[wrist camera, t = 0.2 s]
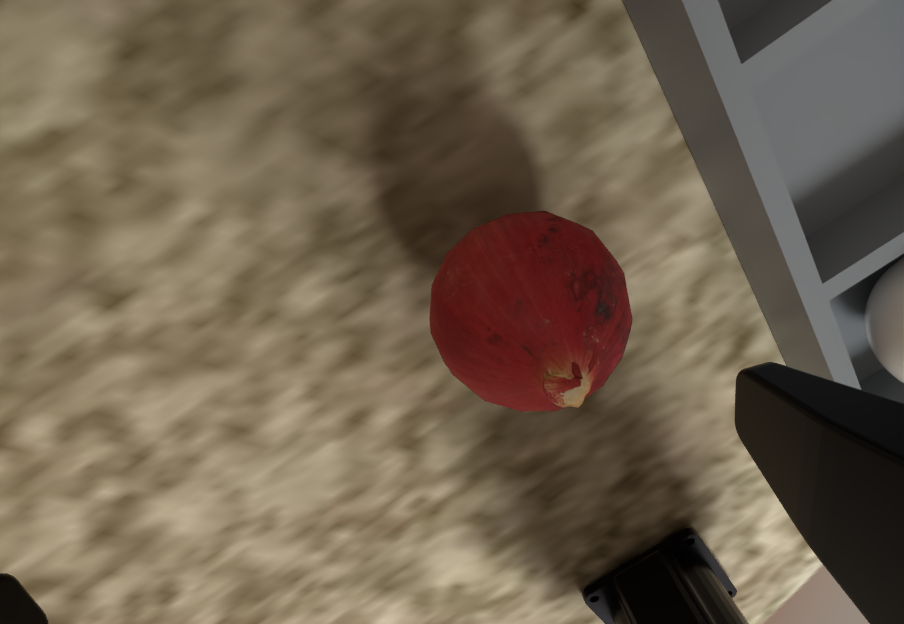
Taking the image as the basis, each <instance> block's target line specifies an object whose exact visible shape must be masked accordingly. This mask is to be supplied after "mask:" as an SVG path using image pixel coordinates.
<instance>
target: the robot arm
mask: <svg viewBox="0 0 904 624" xmlns="http://www.w3.org/2000/svg"><path fill="white" fill-rule="evenodd" d="M735 426H736V430H737V433H738V435H739V437H740V439H741V441H742V443H743V444H744V446H745V447H746V449H747V451H748V452H749V454H750V455H751V457H752V458H753V460H754V462H755V463H756V465H757V466H758V468H759V469H760V471H761V473H762V474H763V476H764V477H765V479H766V480H767V482H768V484H769V485H770V487H771V488H772V490H773V491H774V493H775V495H776V496H777V498H778V499H779V501H780V502H781V504H782V506H783V507H784V509H785V510H786V512H787V513H788V515H789V517H790V518H791V520H792V521H793V523H794V524H795V526H796V528H797V529H798V530H799V532H800V533H801V535H802V536H803V538H804V539H805V541H806V542H807V544H808V545H809V546H810V548H811V549H812V550H813V552H814V553H815V554H816V556H817V557H818V558H819V560H820V561H821V562H822V564H823V565H824V566H825V567H826V569H827V570H828V571H829V572H830V574H831V575H832V576H833V577H834V579H835V580H836V581H837V583H838V584H839V585H840V586H841V588H842V589H843V590H844V591H845V593H846V594H847V595H848V596H849V598H850V599H851V600H852V601H853V603H854V604H855V605H856V607H857V608H858V609H859V611H860V612H861V613H862V614H863V616H864V617H865V618H866V619H867V620H868V622H869V623H870V624H904V403H901V402H898V401H895V400H892V399H888V398H885V397H882V396H879V395H876V394H873V393H869V392H866V391H863V390H860V389H857V388H854V387H850V386H847V385H844V384H841V383H838V382H835V381H831V380H828V379H825V378H822V377H819V376H816V375H812V374H809V373H806V372H803V371H800V370H797V369H794V368H790V367H787V366H784V365H781V364H778V363H774V362H768V363H763V364H759V365H756V366H752V367H748V368H745V369H743V370H741V371H740V372H739V373H738V375H737V378H736V394H735ZM736 593H737V590H736V588H735V587H734V585H733V584H732V583H731V581H730V580H729V578H728V577H727V575H726V574H725V573H724V571H723V570H722V568H721V567H720V565H719V564H718V563H717V561H716V560H715V558H714V557H713V555H712V554H711V553H710V551H709V550H708V548H707V547H706V546H705V544H704V543H703V541H702V540H701V538H700V537H699V536H698V534H697V533H696V531H695V530H694V529H692V528H687V529H684V530H682V531H680V532H679V533H677V534H675V535H674V536H672V537H670V538H669V539H667V540H665V541H664V542H662V543H660V544H659V545H657V546H655V547H654V548H652V549H650V550H649V551H647V552H645V553H644V554H642V555H640V556H639V557H637V558H635V559H634V560H632V561H630V562H629V563H627V564H625V565H624V566H622V567H620V568H619V569H617V570H615V571H614V572H612V573H610V574H609V575H607V576H605V577H604V578H602V579H600V580H599V581H597V582H595V583H594V584H592V585H590V586H589V587H587V588H586V589H585V590H584V591H583V592H582V596H583V598H584V601H585V603H586V604H587V606H588V607H589V608H590V609H591V610H592V611H593V612H594V613H595V614H596V615H597V616H598V617H599V618H600V619H601V620H602V621H603V622H604V623H605V624H749V623H748V622H747V620H746V619H745V617H744V616H743V614H742V613H741V611H740V610H739V608H738V607H737V605H736V604H735V602H734V601H733V599H732V598H733V597H734V596H735V595H736ZM0 624H48V620H47V617H46V615H45V613H44V612H43V610H42V609H41V608H40V607H39V605H38V604H37V603H36V602H35V601H34V599H33V598H32V597H31V596H30V595H29V593H28V592H27V591H26V590H25V588H24V587H23V586H22V585H21V584H20V582H19V581H18V580H17V579H16V578H15V577H14V576H11V575H9V574H7V573H6V574H2V573H1V574H0Z"/></svg>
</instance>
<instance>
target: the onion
mask: <svg viewBox="0 0 904 624" xmlns="http://www.w3.org/2000/svg"><path fill="white" fill-rule="evenodd" d="M631 325H632V315H631V309H630V304H629V299H628V293H627V288H626V282H625V276H624V272H623V271H622V269H621V267H620V266H619V264H618V263H617V261H616V260H615V258H614V257H613V256H612V255H611V253H610V252H609V251H608V249H607V248H606V247H605V246H604V244H603V243H602V242H601V241H600V239H599V238H598V237H597V236H596V234H595V233H594V232H593V231H592V230H590V229H588V228H586V227H584V226H582V225H579V224H577V223H574V222H572V221H569V220H567V219H564V218H562V217H559V216H557V215H554V214H552V213H549V212H546V211H536V212H525V213H514V214H506V215H504V216H501V217H499V218H497V219H494V220H492V221H490V222H488V223H485V224H483V225H481V226H478V227H476V228H474V229H472V230H471V231H470V232H469V233H468V234H467V235H466V236H465V237H464V238H463V239H462V240H461V241H460V242H459V243H458V244H456V245H455V246H454V247H453V248H452V249H451V250H450V251H449V252H448V253H447V254H446V256H445V258H444V261H443V263H442V265H441V267H440V269H439V271H438V273H437V275H436V277H435V280H434V282H433V284H432V289H431V304H430V329H431V335H432V337H433V339H434V341H435V343H436V345H437V348H438V350H439V352H440V354H441V356H442V358H443V361H444V363H445V364H446V366H447V367H448V368H449V370H450V371H451V373H452V374H453V375H454V376H455V377H456V378H458V379H459V380H460V381H461V382H462V383H464V384H465V385H466V386H467V387H468V388H470V389H471V390H472V391H473V392H475V393H476V394H477V395H478V396H480V397H481V398H482V399H483V400H485V401H488V402H491V403H494V404H498V405H501V406H504V407H508V408H511V409H515V410H518V411H557V410H559V409H562V408H565V407H568V406H572V407H577V408H579V406H580V405H581V404H582V403H583V401H584V399H585V398H587V397H588V396H589V395H591V394H592V393H593V392H595V391H596V390H598V389H599V388H600V387H602V386H603V385H604V383H605V382H606V380H607V379H608V377H609V376H610V374H611V373H612V371H613V370H614V369H615V367H616V366H617V365H618V363H619V362H620V360H621V359H622V357H623V354H624V351H625V347H626V344H627V340H628V337H629V334H630V330H631Z"/></svg>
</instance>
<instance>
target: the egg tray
mask: <svg viewBox="0 0 904 624" xmlns="http://www.w3.org/2000/svg"><path fill="white" fill-rule="evenodd" d="M623 2H624V4H625V7H626V9H627V11H628V13H629V16H630V18H631V20H632V22H633V24H634V27H635V29H636V31H637V33H638V36H639V38H640V40H641V42H642V44H643V47H644V49H645V51H646V53H647V56H648V58H649V60H650V62H651V65H652V67H653V69H654V71H655V73H656V76H657V78H658V80H659V82H660V85H661V87H662V89H663V91H664V93H665V96H666V98H667V100H668V102H669V105H670V107H671V109H672V111H673V113H674V116H675V118H676V120H677V122H678V125H679V127H680V129H681V131H682V134H683V136H684V138H685V140H686V142H687V145H688V147H689V149H690V151H691V154H692V156H693V158H694V160H695V162H696V165H697V167H698V169H699V171H700V174H701V176H702V178H703V180H704V182H705V185H706V187H707V189H708V191H709V194H710V196H711V198H712V200H713V202H714V205H715V207H716V209H717V211H718V214H719V216H720V218H721V220H722V223H723V225H724V227H725V229H726V231H727V234H728V236H729V238H730V240H731V243H732V245H733V247H734V249H735V251H736V254H737V256H738V258H739V260H740V263H741V265H742V267H743V269H744V271H745V274H746V276H747V278H748V280H749V283H750V285H751V287H752V289H753V292H754V294H755V296H756V298H757V300H758V303H759V305H760V307H761V309H762V312H763V314H764V316H765V318H766V320H767V323H768V325H769V327H770V329H771V332H772V334H773V336H774V338H775V340H776V343H777V345H778V347H779V349H780V352H781V354H782V356H783V358H784V361H785V363H786V365H787V367H790V368H794V369H797V370H800V371H803V372H806V373H809V374H812V375H816V376H819V377H822V378H825V379H828V380H831V381H835V382H838V383H841V384H844V385H847V386H850V387H854V388H857V389H860V390H863V391H866V392H869V393H873V394H876V395H879V396H882V397H885V398H888V399H892V400H895V401H898V402H901V403H904V383H902V382H901V381H899V380H898V379H897V378H895V377H894V376H893V375H892V374H891V373H889V372H888V371H887V370H886V369H885V368H884V367H883V366H882V365H881V363H880V362H879V361H878V359H877V358H876V356H875V355H874V353H873V352H872V349H871V347H870V345H869V342H868V340H867V336H866V332H865V325H864V316H865V308H866V303H867V300H868V298H869V295H870V293H871V291H872V289H873V287H874V285H875V284H876V282H877V281H878V280H879V278H880V277H881V276H882V275H883V274H884V273H885V272H886V271H887V270H888V269H889V268H890V267H891V266H892V265H893V264H895V263H896V262H897V261H899V260H900V259H902V258H903V257H904V0H623Z"/></svg>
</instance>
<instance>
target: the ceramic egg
mask: <svg viewBox="0 0 904 624" xmlns="http://www.w3.org/2000/svg"><path fill="white" fill-rule="evenodd" d="M864 325H865V332H866V336H867V340H868V342H869V345H870V347H871V349H872V352H873V353H874V355H875V356H876V358H877V359H878V361H879V362H880V363H881V365H882V366H883V367H884V368H885V369H886V370H887V371H888V372H889V373H891V374H892V375H893V376H894V377H895V378H897V379H898V380H899V381H901V382H902V383H904V257H903V258H902V259H900V260H899V261H897V262H896V263H895V264H893V265H892V266H891V267H890V268H889V269H888V270H887V271H886V272H885V273H884V274H883V275H882V276H881V277H880V278H879V280H878V281H877V282H876V284H875V285H874V287H873V289H872V291H871V293H870V295H869V298H868V300H867V303H866V308H865V316H864Z"/></svg>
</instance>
